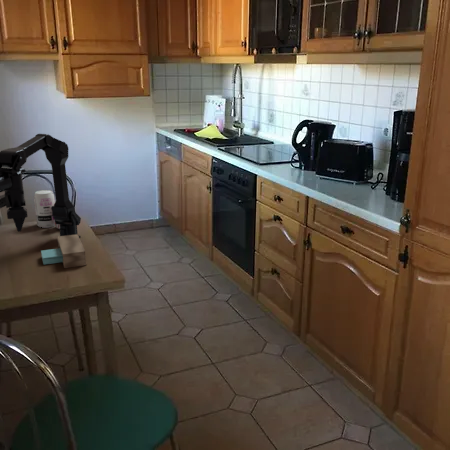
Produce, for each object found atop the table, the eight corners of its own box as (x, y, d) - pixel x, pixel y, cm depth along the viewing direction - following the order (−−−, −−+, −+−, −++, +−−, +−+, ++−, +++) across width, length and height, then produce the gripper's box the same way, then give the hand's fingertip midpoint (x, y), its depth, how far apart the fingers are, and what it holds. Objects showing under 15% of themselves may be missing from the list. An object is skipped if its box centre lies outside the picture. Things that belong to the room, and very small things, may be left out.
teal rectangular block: (43, 264, 183) (42, 258, 182) (41, 257, 190) (41, 250, 189) (78, 260, 187) (77, 253, 186) (75, 252, 194) (74, 246, 193)
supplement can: (49, 221, 231) (45, 188, 227) (60, 224, 227) (57, 191, 222) (33, 225, 225) (29, 192, 221) (45, 229, 221) (41, 195, 216)
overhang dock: (64, 268, 180) (62, 254, 178) (58, 249, 197) (57, 236, 196) (86, 265, 183) (85, 251, 181) (78, 247, 200) (77, 234, 199)
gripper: (-12, 183, 181) (-6, 226, 185) (-13, 196, 164) (-7, 242, 169) (22, 181, 185) (27, 222, 190) (24, 193, 168) (30, 238, 173)
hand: (19, 231), depth 180 cm, fingers closed
